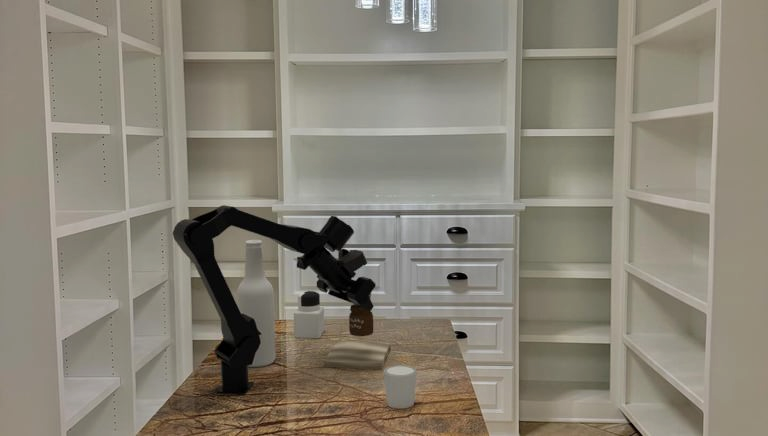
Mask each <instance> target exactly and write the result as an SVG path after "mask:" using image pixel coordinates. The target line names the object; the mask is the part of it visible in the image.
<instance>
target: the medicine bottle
mask: <svg viewBox="0 0 768 436" xmlns="http://www.w3.org/2000/svg"><path fill="white" fill-rule="evenodd" d="M320 304H321V300H320V293H319V292H318V291H317V292H316V291H314V290H313V291H312V290H305V291H302V292H299V293H298V294H297V309H296V310H295V311H294V312H293V335H294V336H293V337H294V338H295V339H320V338H321V336H322V335H323V334H324V332H325V307H324V306H321V305H320Z"/></svg>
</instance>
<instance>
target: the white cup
mask: <svg viewBox="0 0 768 436" xmlns="http://www.w3.org/2000/svg"><path fill="white" fill-rule="evenodd" d="M417 372H418V370H417V368H415V367H414V366H413V367H412V366H409V365H404V364H403V365H401V364H400V365H399V364H398V365H390V366H387V367H386V368H384V369H383V379H384V391H385V399H386V405H387V407H389V408H392V409H400V410H401V409H408V408H411V407H413V406H414V405H415V397H416V387H417V386H416V385H417Z"/></svg>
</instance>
